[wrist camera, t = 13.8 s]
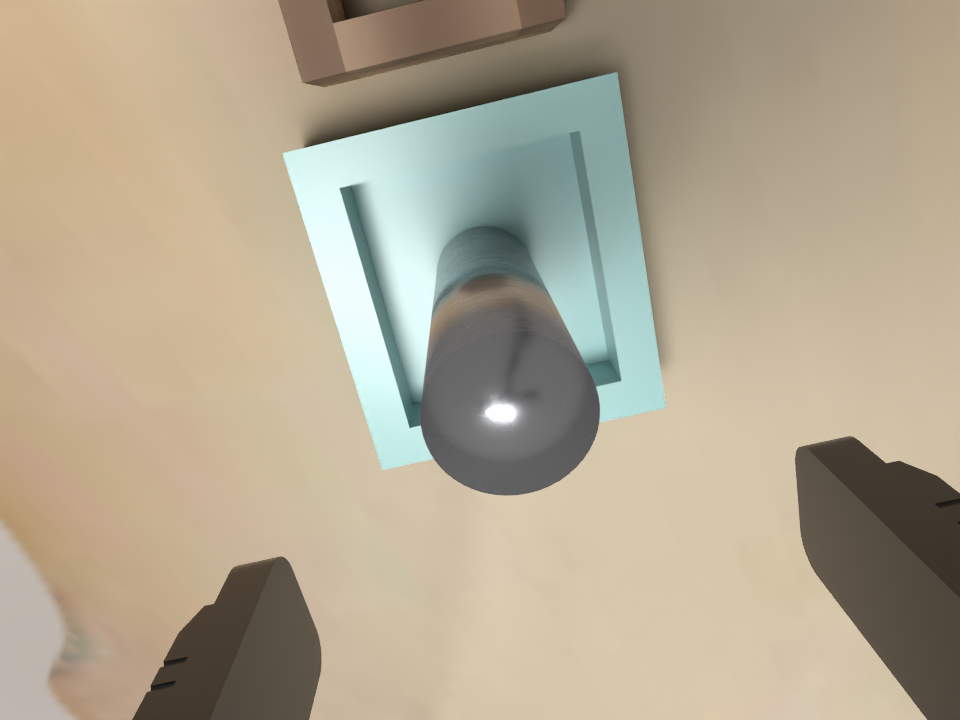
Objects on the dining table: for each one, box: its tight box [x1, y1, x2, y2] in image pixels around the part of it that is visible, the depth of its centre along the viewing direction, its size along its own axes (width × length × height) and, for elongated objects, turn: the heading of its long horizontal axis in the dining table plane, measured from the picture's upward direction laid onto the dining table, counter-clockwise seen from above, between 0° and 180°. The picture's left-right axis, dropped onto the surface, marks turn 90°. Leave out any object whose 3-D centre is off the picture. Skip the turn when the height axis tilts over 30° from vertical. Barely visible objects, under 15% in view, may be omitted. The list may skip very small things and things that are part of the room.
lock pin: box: [420, 226, 600, 495], centre depth 22 cm, size 4×4×14 cm
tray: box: [282, 72, 666, 470], centre depth 28 cm, size 12×13×4 cm
